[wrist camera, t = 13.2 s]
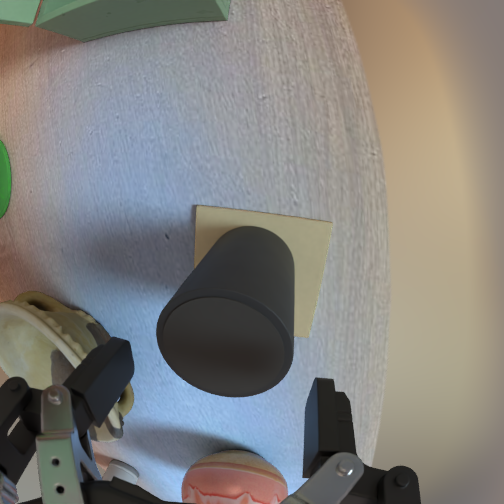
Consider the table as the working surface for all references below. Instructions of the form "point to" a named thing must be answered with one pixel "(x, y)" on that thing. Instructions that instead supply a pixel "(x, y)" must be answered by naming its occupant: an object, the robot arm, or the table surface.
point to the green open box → (123, 15)
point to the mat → (292, 233)
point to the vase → (233, 480)
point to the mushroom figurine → (4, 179)
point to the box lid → (18, 12)
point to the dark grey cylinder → (233, 316)
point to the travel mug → (121, 472)
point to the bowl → (54, 349)
